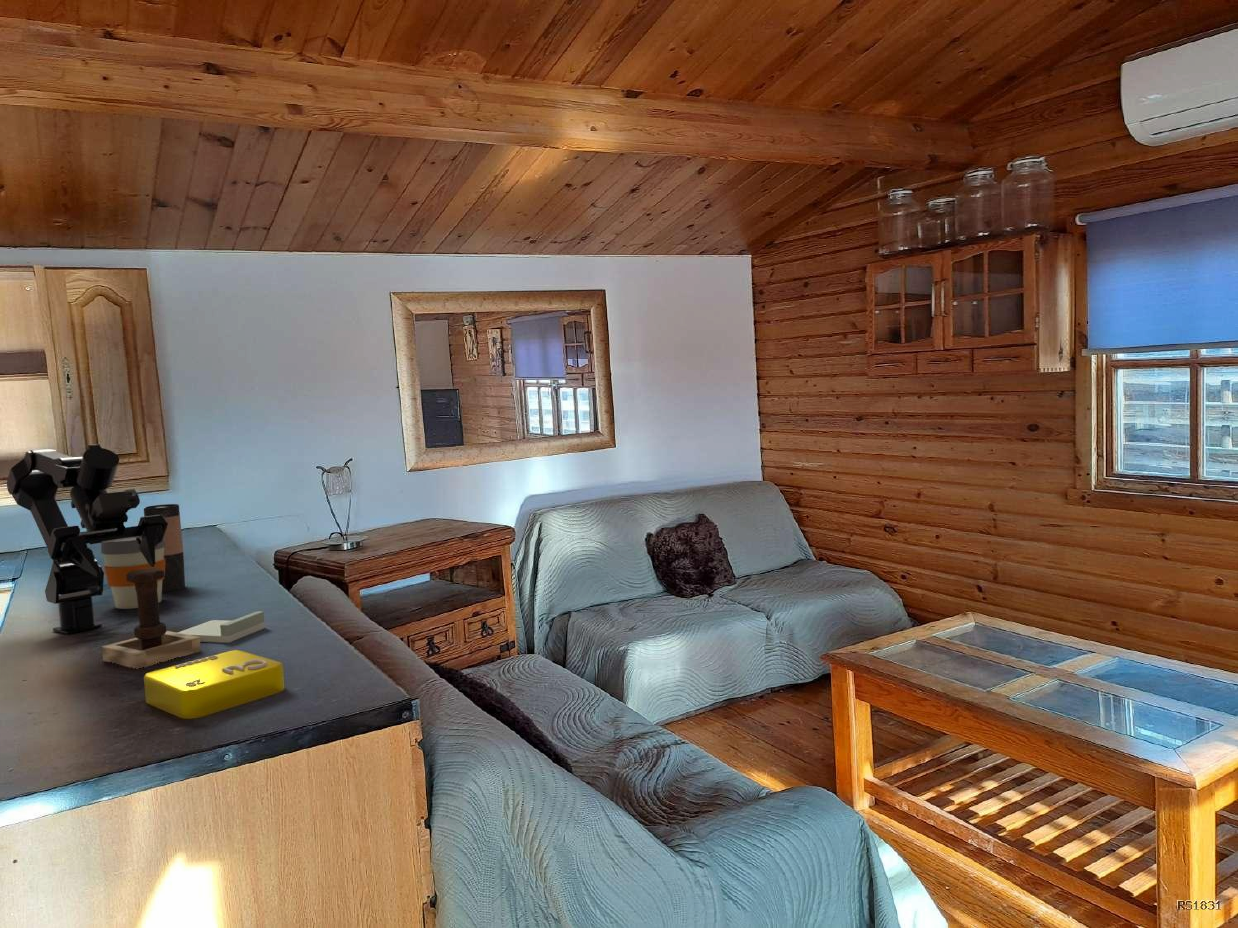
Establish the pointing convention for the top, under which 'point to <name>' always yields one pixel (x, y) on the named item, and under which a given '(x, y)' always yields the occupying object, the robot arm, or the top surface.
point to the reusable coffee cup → (128, 569)
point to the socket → (151, 650)
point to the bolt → (148, 606)
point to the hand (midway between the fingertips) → (126, 570)
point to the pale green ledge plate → (227, 628)
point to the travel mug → (171, 546)
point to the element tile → (213, 683)
